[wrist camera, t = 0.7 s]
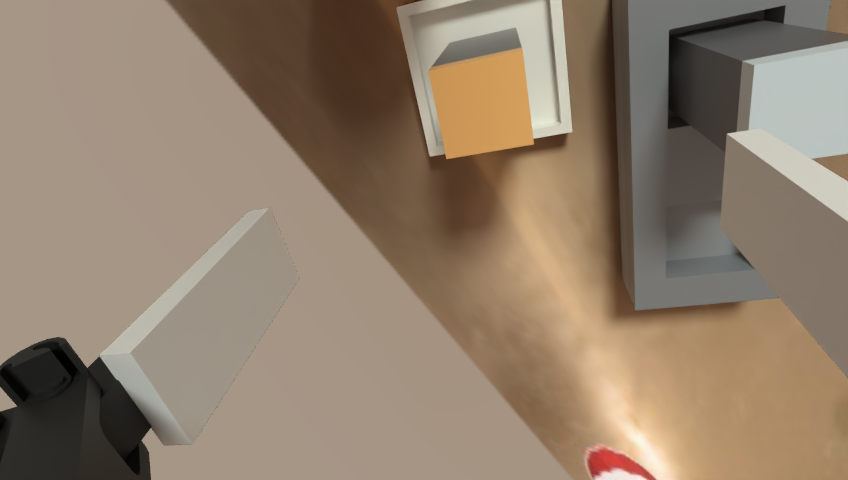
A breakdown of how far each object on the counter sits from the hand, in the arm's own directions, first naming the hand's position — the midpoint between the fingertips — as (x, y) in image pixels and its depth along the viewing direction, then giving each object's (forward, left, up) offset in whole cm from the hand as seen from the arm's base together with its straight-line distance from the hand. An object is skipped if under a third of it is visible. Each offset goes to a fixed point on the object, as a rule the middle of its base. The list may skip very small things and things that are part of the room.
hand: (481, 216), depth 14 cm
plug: (-1, 0, -18) cm, 18 cm away
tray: (-1, 0, -19) cm, 19 cm away
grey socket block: (+6, +12, -19) cm, 23 cm away
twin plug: (+1, +12, -17) cm, 21 cm away
